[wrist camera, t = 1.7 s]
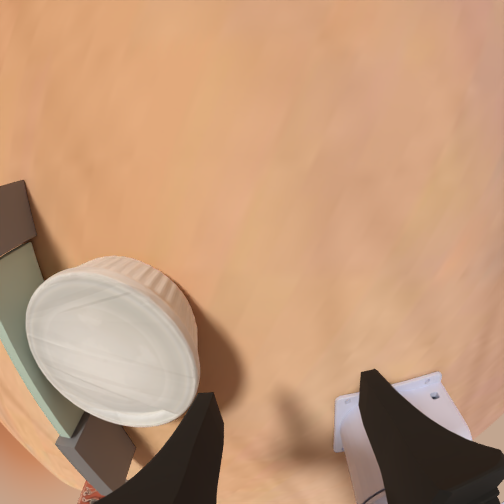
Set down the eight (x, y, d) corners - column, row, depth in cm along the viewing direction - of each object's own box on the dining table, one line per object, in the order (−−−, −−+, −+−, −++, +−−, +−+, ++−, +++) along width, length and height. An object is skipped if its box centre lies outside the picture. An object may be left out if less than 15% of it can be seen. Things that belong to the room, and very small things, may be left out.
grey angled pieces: (23, 179, 17) (-43, 200, 11) (135, 447, 26) (119, 498, 19) (6, 186, 17) (-59, 208, 11) (118, 446, 26) (101, 495, 20)
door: (31, 241, 18) (-19, 271, 13) (94, 392, 23) (70, 438, 17) (15, 245, 18) (-34, 275, 13) (78, 390, 23) (53, 434, 17)
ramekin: (102, 383, 23) (79, 428, 18) (40, 262, 19) (-4, 293, 14) (230, 369, 22) (225, 424, 17) (177, 219, 18) (150, 249, 13)
